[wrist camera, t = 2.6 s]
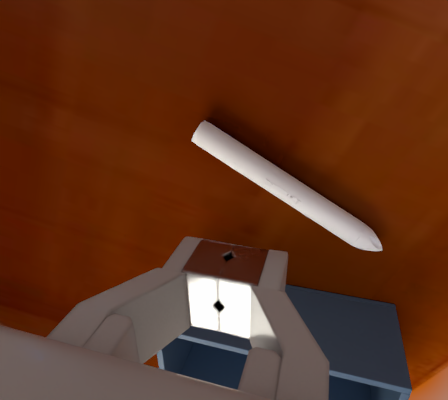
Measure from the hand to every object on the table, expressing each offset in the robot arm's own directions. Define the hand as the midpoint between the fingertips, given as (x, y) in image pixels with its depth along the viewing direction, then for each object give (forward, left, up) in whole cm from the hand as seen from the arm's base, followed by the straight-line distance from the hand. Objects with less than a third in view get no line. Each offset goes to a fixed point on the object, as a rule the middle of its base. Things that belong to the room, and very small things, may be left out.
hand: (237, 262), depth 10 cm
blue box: (+22, 0, -19) cm, 29 cm away
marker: (+6, 0, -19) cm, 20 cm away
